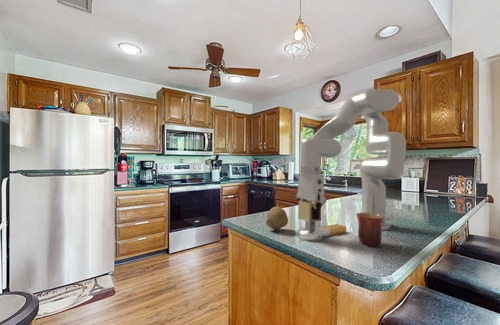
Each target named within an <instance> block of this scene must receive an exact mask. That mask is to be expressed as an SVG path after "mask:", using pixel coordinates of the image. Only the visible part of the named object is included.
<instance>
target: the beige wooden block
mask: <svg viewBox="0 0 500 325" xmlns="http://www.w3.org/2000/svg"><path fill="white" fill-rule="evenodd" d="M316 205H317V202H316ZM313 209H314V207H313V203H312V201H310V200H303V201H298V218H297V219H299V220H301V221H303V222H305V221H307V222H315V223H316V222H320V221H322V208H321V209H320V219H316V220H313Z"/></svg>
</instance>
